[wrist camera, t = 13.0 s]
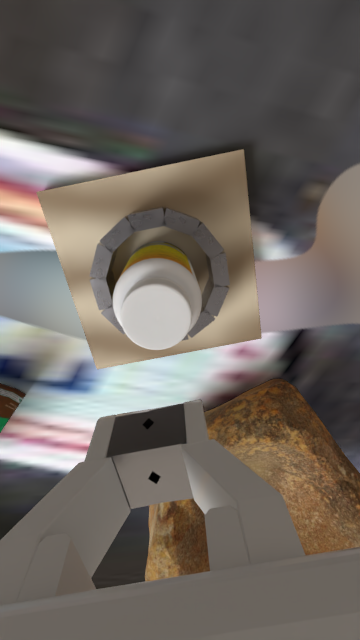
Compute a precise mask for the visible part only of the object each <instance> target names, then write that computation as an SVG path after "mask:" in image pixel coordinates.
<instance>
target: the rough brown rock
mask: <svg viewBox="0 0 360 640" xmlns="http://www.w3.org/2000/svg"><path fill="white" fill-rule="evenodd" d="M204 415H205V420H206V425H207V430H208V435H209V440H211V439H214V440H216V441H217V442H218V443H219V444H220V445H222V446H223V447H224V448H225V449H227V450H228V451H229V452H230V453H231V454H233V455H234V456H235V457H236V458H238V459H239V460H240V461H241V462H242V463H244V464H245V465H246V466H247V467H249V468H250V469H251V470H252V471H253V472H255V473H256V474H257V475H258V476H259V477H261V478H262V479H263V480H264V481H266V482H267V483H268V484H269V485H270V486H272V487H273V488H274V489H275V490H277V491H278V492H279V493H280V494H281V495H282V496H283V498H284V501H285V504H286V506H287V509H288V511H289V514H290V517H291V519H292V522H293V524H294V527H295V529H296V532H297V535H298V537H299V540H300V542H301V545H302V548H303V550H304V553H305V555H312V554H318V553H324V552H331V551H337V550H343V549H349V548H355V547H360V473H359V472H358V471H357V469H356V468H355V467H354V466H353V464H352V463H351V462H350V461H349V460H348V458H347V457H346V456H345V455H344V453H343V452H342V450H341V449H340V448H339V446H338V445H337V443H336V442H335V440H334V439H333V438H332V436H331V435H330V433H329V432H328V430H327V429H326V427H325V426H324V424H323V423H322V421H321V420H320V419H319V418H318V416H317V415H316V413H315V412H314V410H313V409H312V408H311V407H310V405H309V404H308V403H307V402H306V400H305V399H304V398H303V397H302V395H301V394H300V392H299V391H298V389H297V388H296V387H295V386H293V385H292V384H290V383H288V381H285V380H283V379H272V380H270V381H267V382H265V383H263V384H261V385H259V386H257V387H255V388H253V389H250V390H248V391H246V392H244V393H242V394H241V395H239V396H237V397H236V398H234V399H233V400H231V401H228V402H226V403H224V404H222V405H220V406H218V407H216V408H213V409H211V410H209V411H206V412H204ZM149 532H150V541H149V554H148V559H147V566H146V572H145V580H146V581H153V580H159V579H165V578H171V577H177V576H183V575H190V574H196V573H202V572H208V571H210V565H209V555H208V546H207V536H206V526H205V514H204V513H203V511H202V510H201V509H200V507H199V506H198V505H197V503H196V502H195V501H194V498H192V499H185V500H178V501H171V502H164V503H158V504H153V505H149Z"/></svg>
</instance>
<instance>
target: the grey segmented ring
mask: <svg viewBox="0 0 360 640" xmlns="http://www.w3.org/2000/svg"><path fill="white" fill-rule="evenodd" d="M162 226H165V227H168V228H170V229H173V230H176V231H179V232H182V233H184V234H187V235H190V236H192V237H193V238H194V239H195V241H196V242H197V243H198V244H199V245H200V247H201V248H202V249H203V250H204V252H205V253H206V259H207V266H208V272H209V278H208V280H207V283H206V285H205V288H204V290H203V293H202V307H201V312H200V315H199V318H198V320H197V322H196V324H195V325H194V326H193V328H192V329H191V330H190V331H189V332H188V333H187V335H186V336H185V337H184V338H183V339H182V340H181V341H183V340H188V335H189V336H190V337H191V338H192V337H194V336H195V335H196V334H197V333H199V332H200V331H201V330H203V329H204V328H205V327H206V326H208V325H209V324H210V323H211V322H213V321H214V320H215V317H214V316H218V314H219V312H220V309H221V307H222V305H223V302H224V300H225V298H226V295H227V293H228V290H229V287H228V286H227V285H230V282H229V274H228V267H227V259H226V253H225V252H224V251H223V250H224V249H223V247H222V246H221V245H220V244H219V242H218V241H217V240H216V238H215V237H214V236H213V235H212V233H211V232H210V231H209V230H208V228H207V227H206V226H205V225H204V223H203V222H201V221H200V220H199V219H197V218H196V217H193V216H190V215H187V214H185V213H182V212H179V211H177V210H174V209H171V208H169V207H166V210H165V213H164V209H163V207H158V208H153V209H148V210H143V211H138V212H133V213H131V214H129V215H127V216H125V217H124V218H122V219H121V220H120V221H119V222H118V223H117V224H116V225H115V226H114V227H113V228H112V229H111V230H110V231H109V232H108V233H107V234H106V235H105V236H104V237H103V238H102V239H101V240H100V243H98V244H97V247H96V251H95V256H94V260H93V264H92V268H91V272H90V277H92V278H91V279H90V283H91V286H92V289H93V293H94V296H95V299H96V302H97V305H98V309H99V310H102V312H101V314H102V315H103V316H104V317H105V318H106V319H107V320H108V321H110V322H111V323H112V324H113V325H114V326H115V327H116V328H117V329H118V330H119V331H120V332H121V333H122V334H123V335H124V334H125V332H124V330H123V328H122V326H121V325H120V323H119V322H118V320H117V318H116V316H115V313H114V309H113V293H114V289H115V286H116V282H115V279H114V275H113V271H112V269H113V265H114V261H115V258H116V254H117V250H118V247H119V246H120V245H121V244H122V243H123V242H124V241H125V240H126V239H127V238H128V237H129V236H131V235H132V234H133V233H134V232H137V231H142V230H147V229H152V228H157V227H162ZM127 337H128V336H127Z"/></svg>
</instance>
